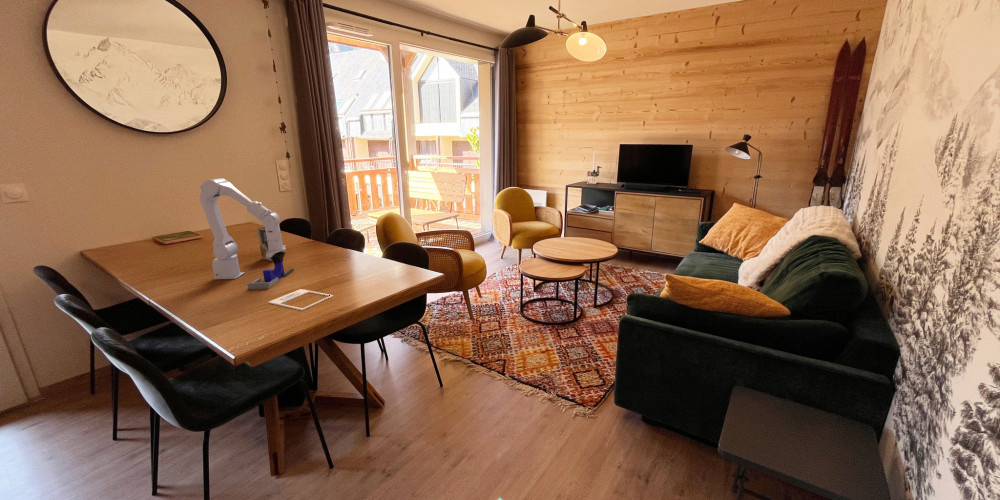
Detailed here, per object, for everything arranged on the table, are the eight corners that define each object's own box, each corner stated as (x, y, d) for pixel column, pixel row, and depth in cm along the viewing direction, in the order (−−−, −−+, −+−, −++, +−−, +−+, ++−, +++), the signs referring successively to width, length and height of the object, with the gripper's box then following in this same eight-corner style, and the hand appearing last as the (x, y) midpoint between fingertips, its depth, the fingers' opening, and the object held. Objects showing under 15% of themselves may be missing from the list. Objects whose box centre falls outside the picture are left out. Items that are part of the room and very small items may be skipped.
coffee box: (283, 258, 211) (278, 228, 206) (271, 261, 205) (265, 230, 201) (273, 255, 215) (268, 226, 211) (261, 258, 210) (256, 228, 206)
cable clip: (274, 275, 184) (272, 262, 182) (284, 274, 184) (282, 262, 182) (261, 284, 172) (259, 271, 171) (272, 284, 173) (270, 270, 171)
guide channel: (266, 276, 182) (266, 274, 181) (275, 271, 189) (275, 268, 189) (285, 276, 182) (285, 273, 182) (293, 270, 190) (293, 268, 189)
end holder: (248, 289, 167) (247, 283, 166) (259, 281, 175) (258, 276, 175) (268, 288, 167) (267, 283, 167) (278, 281, 176) (278, 276, 175)
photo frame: (300, 288, 165) (333, 294, 158) (301, 291, 166) (333, 297, 158) (268, 301, 152) (302, 308, 145) (268, 304, 153) (302, 311, 146)
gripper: (275, 243, 174) (280, 272, 178) (290, 235, 188) (295, 263, 192) (259, 243, 174) (264, 273, 177) (275, 235, 188) (279, 263, 191)
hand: (279, 268), depth 185 cm, fingers closed
